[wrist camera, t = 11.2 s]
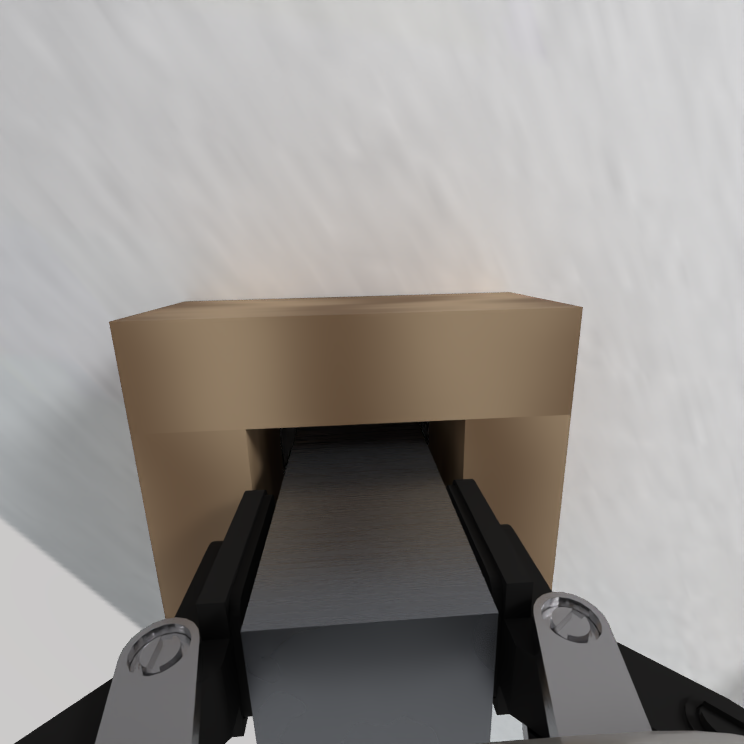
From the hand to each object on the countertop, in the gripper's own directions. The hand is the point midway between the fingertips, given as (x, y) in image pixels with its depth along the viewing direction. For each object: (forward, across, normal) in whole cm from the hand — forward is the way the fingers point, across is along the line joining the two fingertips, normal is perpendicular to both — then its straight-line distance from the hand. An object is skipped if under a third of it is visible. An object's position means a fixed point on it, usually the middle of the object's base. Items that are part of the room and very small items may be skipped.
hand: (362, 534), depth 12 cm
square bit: (+5, 0, 0) cm, 5 cm away
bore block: (+6, 0, 0) cm, 6 cm away
